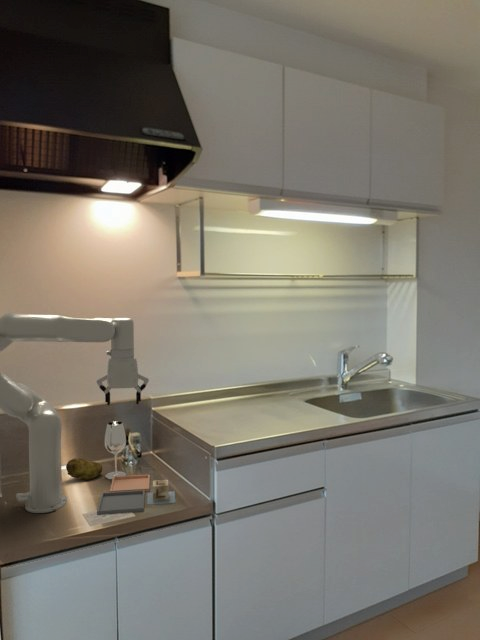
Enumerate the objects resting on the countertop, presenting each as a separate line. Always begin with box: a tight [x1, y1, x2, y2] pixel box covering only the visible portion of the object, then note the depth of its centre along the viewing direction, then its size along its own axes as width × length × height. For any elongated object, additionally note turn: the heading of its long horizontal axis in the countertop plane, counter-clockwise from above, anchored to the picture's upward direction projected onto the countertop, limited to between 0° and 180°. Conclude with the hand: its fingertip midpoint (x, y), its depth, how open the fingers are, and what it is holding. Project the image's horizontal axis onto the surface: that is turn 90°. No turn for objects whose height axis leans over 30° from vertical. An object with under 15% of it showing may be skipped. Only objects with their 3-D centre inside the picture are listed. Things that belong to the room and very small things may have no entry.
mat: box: [146, 490, 176, 506], centre depth 165 cm, size 9×9×1 cm
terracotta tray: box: [109, 474, 151, 493], centre depth 176 cm, size 13×13×2 cm
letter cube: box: [152, 479, 169, 501], centre depth 165 cm, size 5×5×5 cm
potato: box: [65, 457, 103, 481], centre depth 183 cm, size 8×13×8 cm, turn 111°
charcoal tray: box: [96, 490, 146, 515], centre depth 161 cm, size 14×14×2 cm
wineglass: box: [104, 420, 127, 481], centre depth 185 cm, size 8×8×20 cm
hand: (123, 403), depth 170 cm, fingers open, 9 cm apart
